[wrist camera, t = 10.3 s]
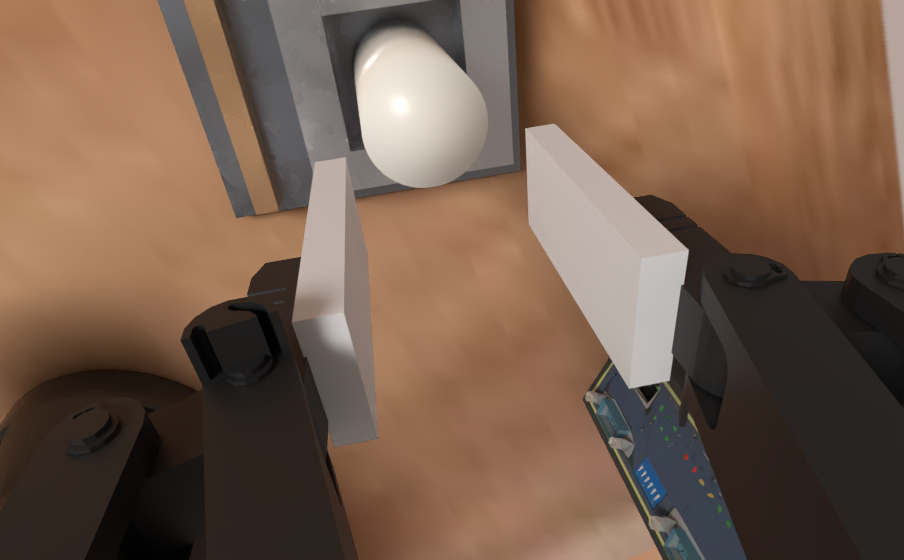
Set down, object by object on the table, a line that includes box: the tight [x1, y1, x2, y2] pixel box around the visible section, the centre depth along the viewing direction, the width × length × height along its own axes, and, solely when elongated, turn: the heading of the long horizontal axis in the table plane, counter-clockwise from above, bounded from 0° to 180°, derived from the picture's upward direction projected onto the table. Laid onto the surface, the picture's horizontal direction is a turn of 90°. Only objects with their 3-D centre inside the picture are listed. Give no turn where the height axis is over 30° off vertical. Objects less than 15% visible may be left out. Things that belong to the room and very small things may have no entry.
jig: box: [158, 0, 521, 218], centre depth 27 cm, size 16×13×4 cm
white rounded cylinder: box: [353, 20, 488, 188], centre depth 23 cm, size 4×4×10 cm
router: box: [583, 355, 747, 560], centre depth 36 cm, size 8×18×20 cm, turn 69°
